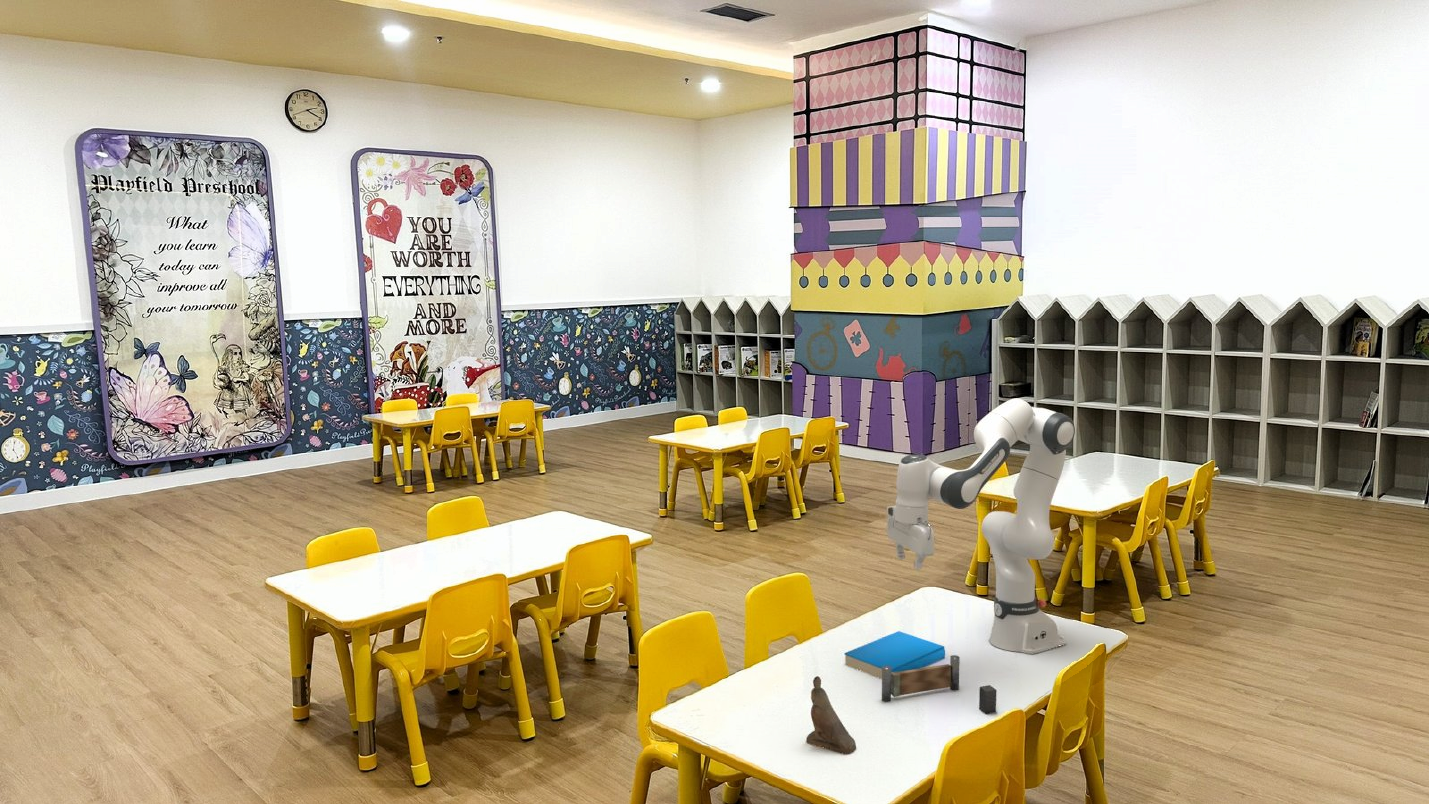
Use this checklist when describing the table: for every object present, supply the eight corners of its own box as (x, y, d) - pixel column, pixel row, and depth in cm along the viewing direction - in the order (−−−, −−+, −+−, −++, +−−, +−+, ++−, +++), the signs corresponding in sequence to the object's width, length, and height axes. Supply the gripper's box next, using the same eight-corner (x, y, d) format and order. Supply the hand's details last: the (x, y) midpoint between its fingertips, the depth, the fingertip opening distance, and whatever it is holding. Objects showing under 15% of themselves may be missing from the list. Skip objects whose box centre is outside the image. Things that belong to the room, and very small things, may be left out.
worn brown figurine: (806, 752, 232) (791, 679, 232) (818, 743, 236) (804, 671, 236) (848, 757, 225) (833, 681, 224) (860, 747, 229) (845, 673, 229)
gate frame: (960, 685, 262) (960, 654, 260) (995, 712, 246) (996, 678, 245) (880, 699, 254) (880, 666, 253) (911, 727, 239) (912, 692, 237)
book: (844, 653, 276) (898, 629, 293) (844, 667, 277) (898, 643, 293) (892, 671, 263) (945, 645, 280) (892, 686, 264) (945, 659, 281)
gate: (947, 684, 260) (947, 663, 259) (950, 687, 258) (951, 666, 257) (890, 694, 255) (891, 672, 254) (894, 697, 253) (894, 675, 252)
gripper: (941, 522, 255) (939, 573, 257) (903, 505, 274) (901, 552, 276) (920, 524, 253) (917, 575, 255) (883, 506, 272) (881, 554, 274)
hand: (909, 563), depth 266 cm, fingers open, 8 cm apart
